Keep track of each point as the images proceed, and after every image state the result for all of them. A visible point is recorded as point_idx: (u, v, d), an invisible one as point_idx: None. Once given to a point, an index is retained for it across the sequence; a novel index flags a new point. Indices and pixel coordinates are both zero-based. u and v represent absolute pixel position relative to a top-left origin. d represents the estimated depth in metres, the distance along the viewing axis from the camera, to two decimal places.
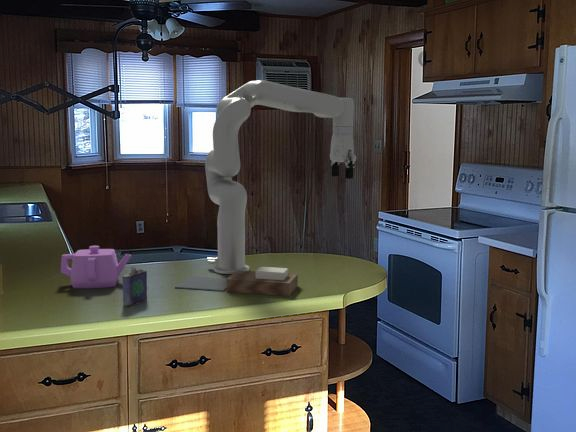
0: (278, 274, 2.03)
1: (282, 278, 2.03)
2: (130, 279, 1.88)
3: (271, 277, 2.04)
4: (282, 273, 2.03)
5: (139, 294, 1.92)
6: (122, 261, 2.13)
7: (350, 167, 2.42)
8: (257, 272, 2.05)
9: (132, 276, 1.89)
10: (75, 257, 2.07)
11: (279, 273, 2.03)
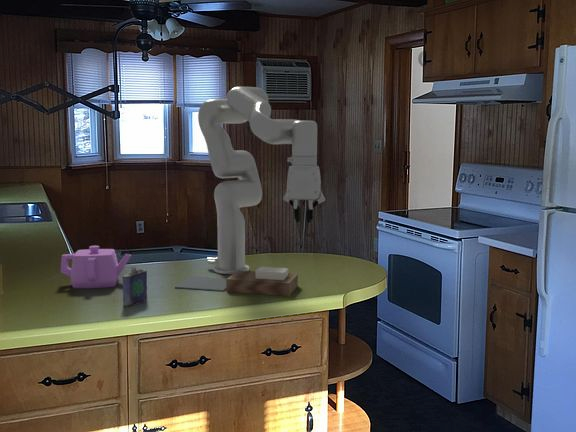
0: (278, 274, 2.03)
1: (282, 278, 2.03)
2: (130, 279, 1.88)
3: (271, 277, 2.04)
4: (282, 273, 2.03)
5: (139, 294, 1.92)
6: (122, 261, 2.13)
7: (312, 209, 2.01)
8: (257, 272, 2.05)
9: (132, 276, 1.89)
10: (75, 257, 2.07)
11: (279, 273, 2.03)
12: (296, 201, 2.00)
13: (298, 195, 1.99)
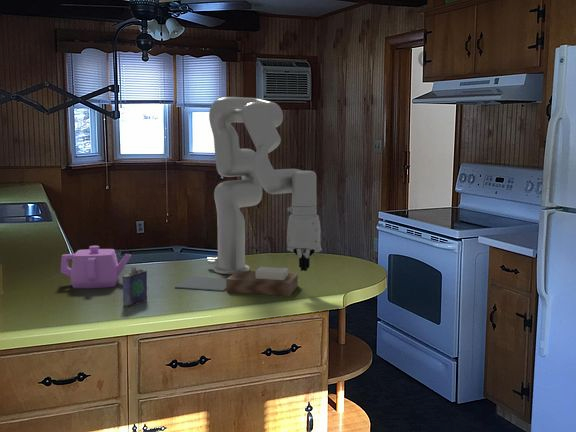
0: (278, 274, 2.03)
1: (282, 278, 2.03)
2: (130, 279, 1.88)
3: (271, 277, 2.04)
4: (282, 273, 2.03)
5: (139, 294, 1.92)
6: (122, 261, 2.13)
7: None
8: (257, 272, 2.05)
9: (132, 276, 1.89)
10: (75, 257, 2.07)
11: (279, 273, 2.03)
12: (299, 250, 2.02)
13: (298, 244, 2.01)
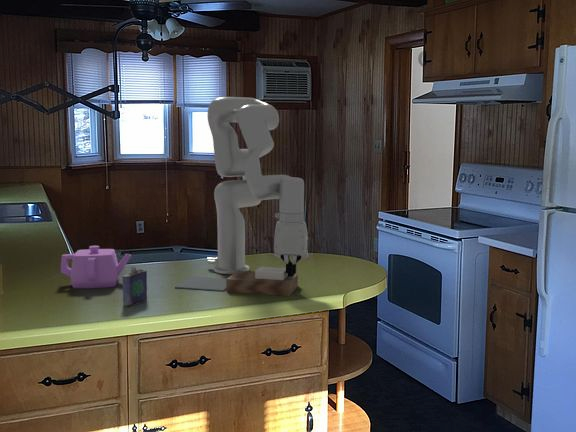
0: (278, 274, 2.03)
1: (282, 278, 2.03)
2: (130, 279, 1.88)
3: (270, 277, 2.04)
4: (282, 273, 2.03)
5: (139, 294, 1.92)
6: (122, 261, 2.13)
7: None
8: (257, 272, 2.05)
9: (132, 276, 1.89)
10: (75, 257, 2.07)
11: (279, 273, 2.03)
12: (286, 256, 2.04)
13: (285, 251, 2.02)
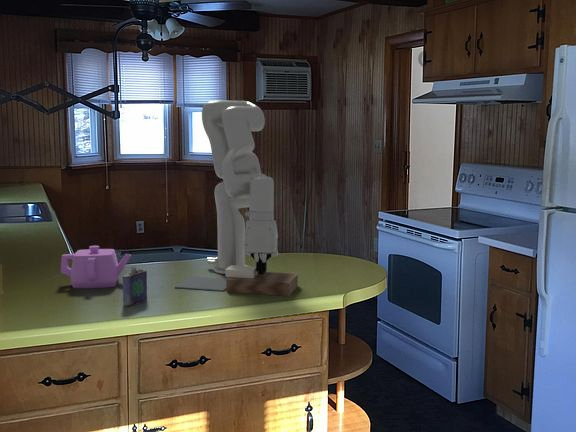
0: (248, 272, 2.05)
1: (252, 276, 2.05)
2: (130, 279, 1.88)
3: (241, 275, 2.06)
4: (252, 271, 2.05)
5: (139, 294, 1.92)
6: (122, 261, 2.13)
7: None
8: (227, 270, 2.07)
9: (132, 276, 1.89)
10: (75, 257, 2.07)
11: (249, 271, 2.05)
12: (256, 254, 2.06)
13: (255, 249, 2.04)
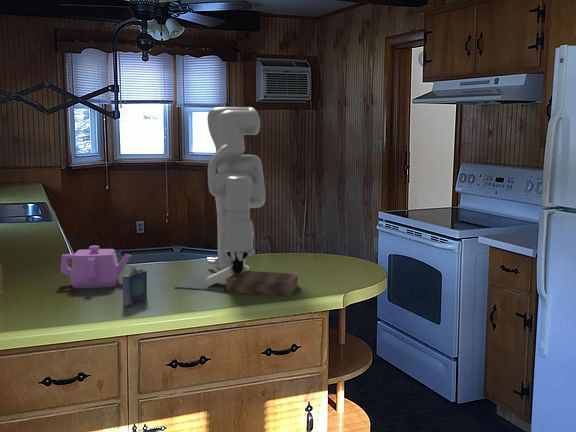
0: (225, 272, 2.07)
1: (230, 274, 2.06)
2: (130, 279, 1.88)
3: (220, 279, 2.07)
4: (228, 270, 2.06)
5: (139, 294, 1.92)
6: (122, 261, 2.13)
7: None
8: (206, 280, 2.08)
9: (132, 276, 1.89)
10: (75, 257, 2.07)
11: (225, 271, 2.07)
12: (233, 253, 2.08)
13: (231, 248, 2.06)
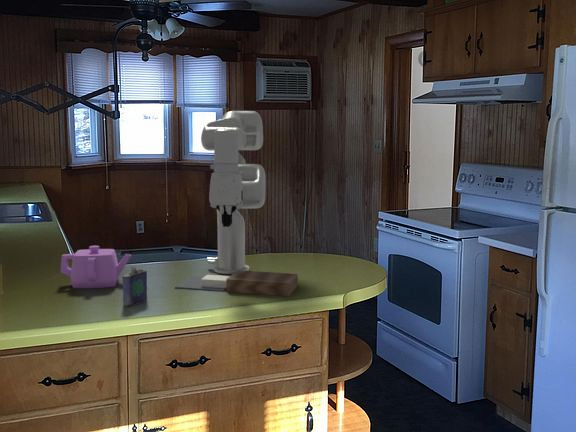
0: (223, 282, 2.07)
1: None
2: (130, 279, 1.88)
3: (216, 285, 2.08)
4: None
5: (139, 294, 1.92)
6: (122, 261, 2.13)
7: None
8: (203, 280, 2.09)
9: (132, 276, 1.89)
10: (75, 257, 2.07)
11: (224, 281, 2.07)
12: (221, 206, 2.08)
13: (220, 201, 2.06)
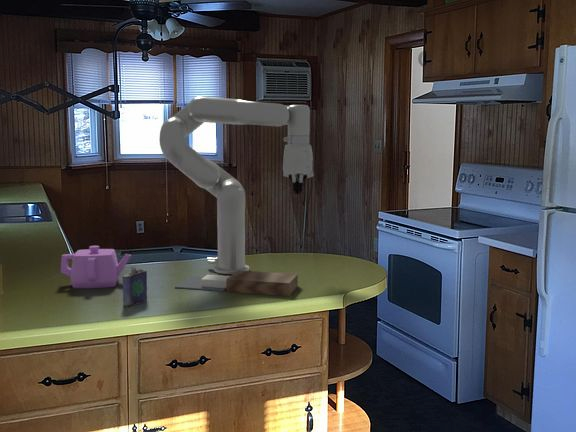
0: (223, 282, 2.07)
1: None
2: (130, 279, 1.88)
3: (216, 285, 2.08)
4: None
5: (139, 294, 1.92)
6: (122, 261, 2.13)
7: None
8: (203, 280, 2.09)
9: (132, 276, 1.89)
10: (75, 257, 2.07)
11: (224, 281, 2.07)
12: (294, 175, 2.29)
13: (293, 170, 2.27)
